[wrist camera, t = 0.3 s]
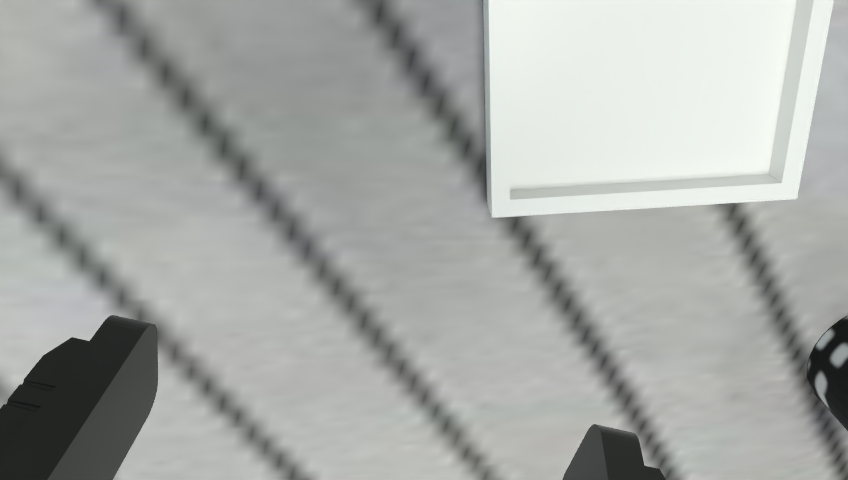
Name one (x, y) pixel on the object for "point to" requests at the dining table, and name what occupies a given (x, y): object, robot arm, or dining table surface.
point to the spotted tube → (831, 370)
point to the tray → (647, 102)
